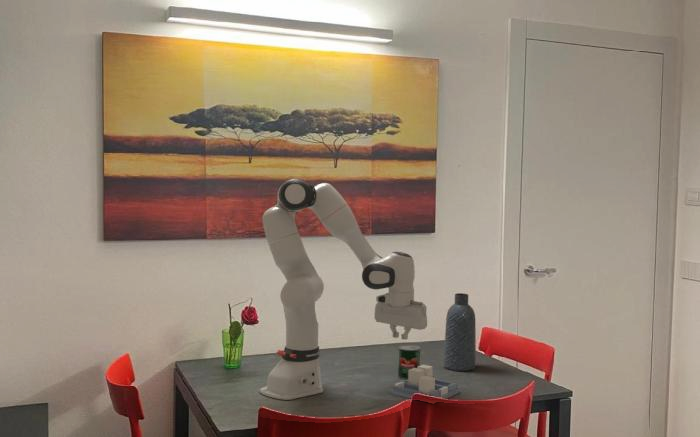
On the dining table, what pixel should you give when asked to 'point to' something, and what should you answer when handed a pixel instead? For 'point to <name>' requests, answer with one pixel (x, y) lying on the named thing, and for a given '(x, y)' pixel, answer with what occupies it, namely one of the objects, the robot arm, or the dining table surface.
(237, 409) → the dining table surface
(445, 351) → the vase
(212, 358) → the dining table surface
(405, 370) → the canned tomato
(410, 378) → the middle tab
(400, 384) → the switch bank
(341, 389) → the dining table surface
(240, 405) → the dining table surface
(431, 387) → the near tab
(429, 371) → the far tab
